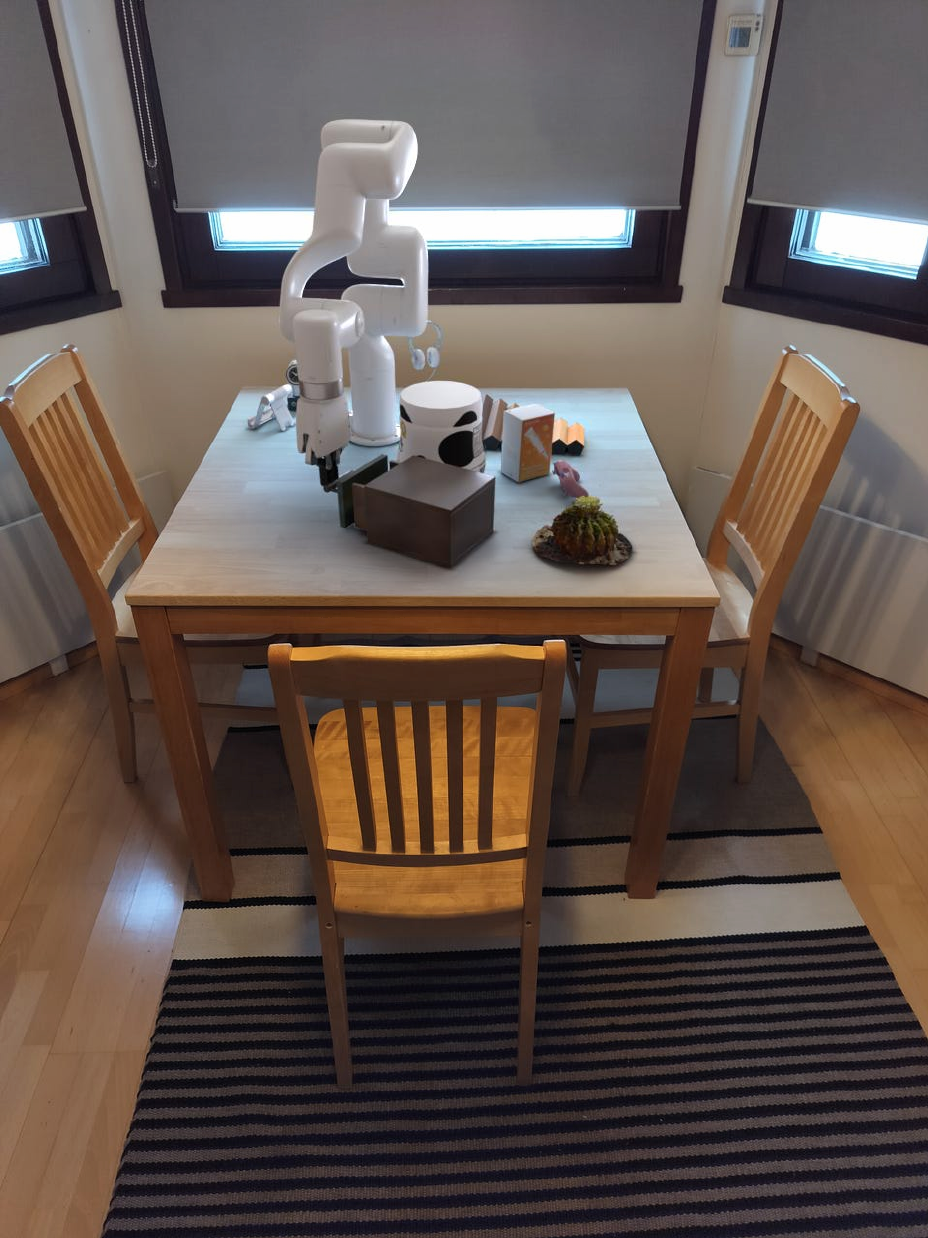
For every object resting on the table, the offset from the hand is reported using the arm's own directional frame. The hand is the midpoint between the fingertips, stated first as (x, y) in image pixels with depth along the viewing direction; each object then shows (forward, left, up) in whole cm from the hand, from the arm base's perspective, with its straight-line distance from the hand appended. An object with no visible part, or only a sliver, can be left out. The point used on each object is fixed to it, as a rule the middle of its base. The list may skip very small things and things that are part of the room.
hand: (330, 485), depth 152 cm
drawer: (+12, 0, -4) cm, 13 cm away
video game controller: (+35, +30, -5) cm, 46 cm away
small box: (+24, +33, -5) cm, 41 cm away
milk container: (+12, +20, -5) cm, 23 cm away
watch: (-38, +38, -5) cm, 54 cm away
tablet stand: (-36, +26, -5) cm, 45 cm away
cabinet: (+22, 0, -4) cm, 22 cm away
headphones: (-13, +54, -5) cm, 55 cm away
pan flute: (+14, +54, -5) cm, 56 cm away
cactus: (+46, +11, -5) cm, 47 cm away
